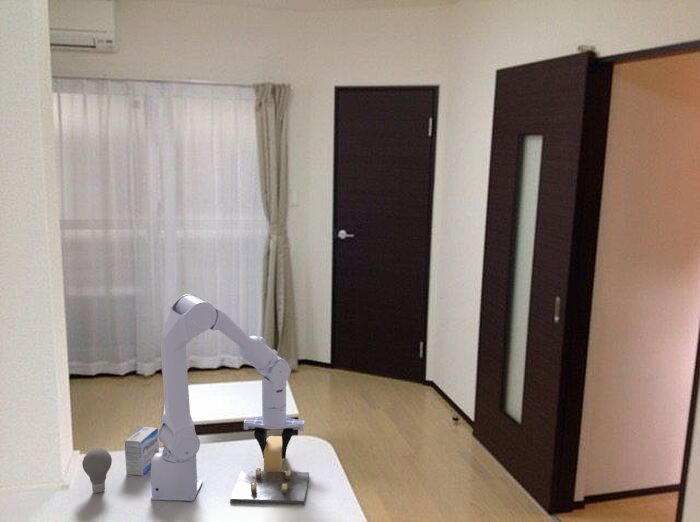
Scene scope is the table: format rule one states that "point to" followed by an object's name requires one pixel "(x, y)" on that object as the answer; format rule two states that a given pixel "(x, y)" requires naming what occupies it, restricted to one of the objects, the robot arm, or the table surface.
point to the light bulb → (97, 467)
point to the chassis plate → (270, 487)
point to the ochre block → (273, 454)
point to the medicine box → (141, 450)
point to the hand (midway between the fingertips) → (274, 456)
